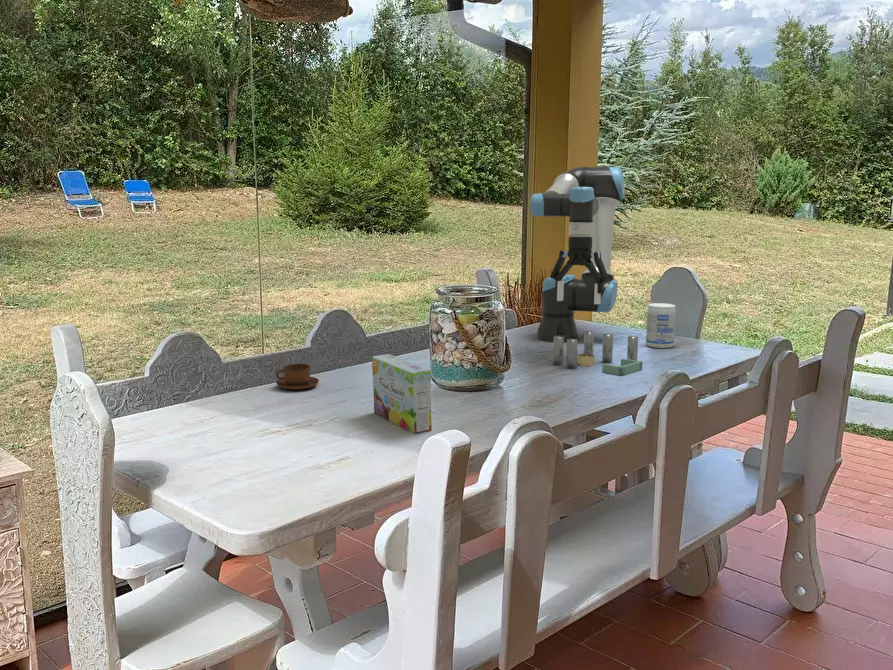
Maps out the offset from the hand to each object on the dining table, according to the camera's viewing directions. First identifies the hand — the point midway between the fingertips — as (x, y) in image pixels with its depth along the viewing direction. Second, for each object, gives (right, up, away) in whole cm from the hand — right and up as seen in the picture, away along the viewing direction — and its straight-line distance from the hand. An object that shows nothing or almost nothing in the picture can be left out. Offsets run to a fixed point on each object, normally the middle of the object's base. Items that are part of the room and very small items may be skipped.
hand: (578, 302), depth 273 cm
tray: (+12, -22, -11) cm, 27 cm away
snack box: (-54, -32, -64) cm, 89 cm away
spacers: (+5, -20, -3) cm, 21 cm away
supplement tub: (+33, -15, +26) cm, 44 cm away
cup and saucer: (-85, -26, -30) cm, 94 cm away
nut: (+2, -20, -2) cm, 20 cm away
